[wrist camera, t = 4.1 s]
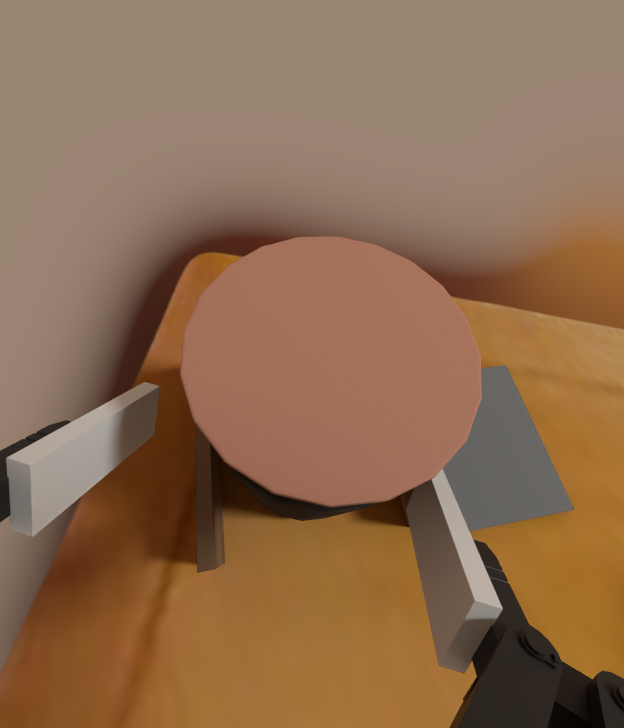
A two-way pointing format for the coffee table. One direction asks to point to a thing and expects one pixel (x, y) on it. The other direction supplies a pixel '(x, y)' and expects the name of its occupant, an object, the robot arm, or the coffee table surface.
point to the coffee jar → (330, 374)
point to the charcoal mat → (503, 461)
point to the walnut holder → (218, 505)
